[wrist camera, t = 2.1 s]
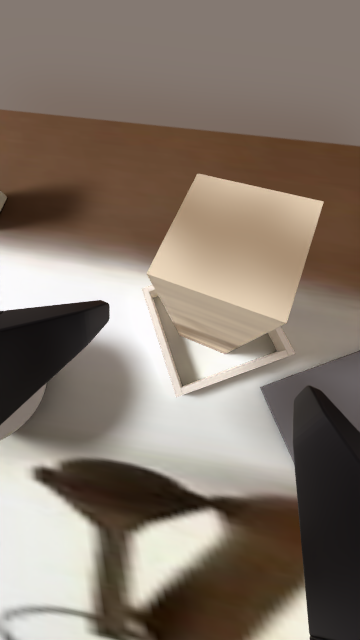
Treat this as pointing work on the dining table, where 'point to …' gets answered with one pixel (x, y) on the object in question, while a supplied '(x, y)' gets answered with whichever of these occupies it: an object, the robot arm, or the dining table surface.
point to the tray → (282, 349)
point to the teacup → (21, 414)
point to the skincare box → (2, 199)
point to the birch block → (233, 261)
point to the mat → (331, 378)
